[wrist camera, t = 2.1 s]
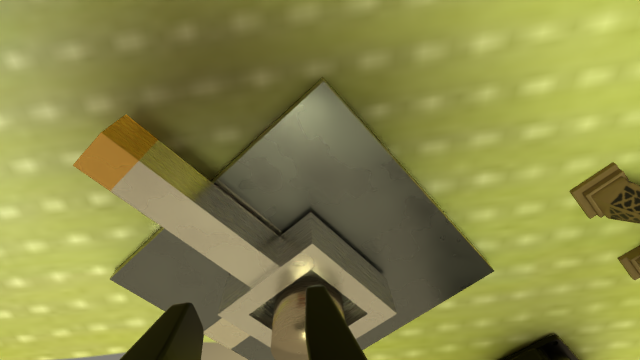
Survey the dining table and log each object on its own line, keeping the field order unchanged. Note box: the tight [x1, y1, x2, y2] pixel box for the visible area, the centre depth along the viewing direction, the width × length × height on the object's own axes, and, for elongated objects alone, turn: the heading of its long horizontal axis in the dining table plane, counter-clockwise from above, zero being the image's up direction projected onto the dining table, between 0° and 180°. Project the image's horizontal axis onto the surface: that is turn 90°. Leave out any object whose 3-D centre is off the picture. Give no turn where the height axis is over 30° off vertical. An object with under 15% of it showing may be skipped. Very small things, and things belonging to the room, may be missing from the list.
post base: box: [110, 77, 494, 360], centre depth 21 cm, size 17×18×6 cm
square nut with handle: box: [73, 114, 397, 348], centre depth 19 cm, size 17×7×3 cm, turn 42°
